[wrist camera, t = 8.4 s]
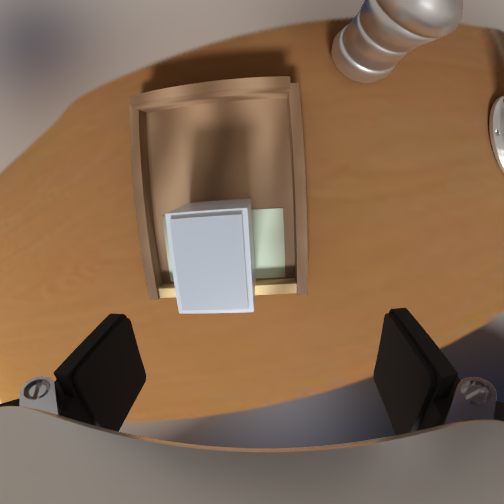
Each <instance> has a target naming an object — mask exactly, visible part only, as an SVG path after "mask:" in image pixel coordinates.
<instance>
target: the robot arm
mask: <svg viewBox="0 0 504 504" xmlns="http://www.w3.org/2000/svg"><path fill="white" fill-rule="evenodd" d="M489 131H490V139H491V144H492V148H493V152H494V155H495V157H496V160H497V162H498V164H499V167H500V168H501V170H502V172H503V173H504V96H501V97H499V98H497V99H496V100H495V102H494V103H493V105H492V108H491V111H490V117H489ZM54 375H55V377H56V379H57V380H56V381H55V382H54V381H53V380H52V379H51V378H49V377H44V376H40V377H35V378H33V379H31V380H29V381H27V382H26V383H25V384H24V385H23V386H22V388H21V390H20V399H17V400H13V401H9V402H6V403H2V404H0V504H504V403H502V402H499V401H496V390H495V388H494V387H493V386H492V385H491V383H489V382H488V381H486V380H484V379H482V378H478V377H468V378H466V379H463V380H462V381H460V379H459V378H458V376H457V375H458V373H457V372H456V370H455V369H454V367H453V366H452V365H451V363H450V362H449V361H448V359H447V358H446V357H445V356H444V354H443V353H442V352H441V350H440V349H439V348H438V346H437V345H436V344H435V343H434V341H433V340H432V339H431V338H430V336H429V335H428V334H427V333H426V331H425V330H424V329H423V328H422V327H421V325H420V324H419V323H418V322H417V320H416V319H415V318H414V317H413V316H412V314H411V313H410V312H409V311H408V310H407V309H406V308H398V309H391V310H390V311H389V313H387V314H385V317H384V323H383V329H382V334H381V340H380V345H379V350H378V355H377V360H376V365H375V370H374V380H375V383H376V386H377V388H378V391H379V393H380V396H381V398H382V401H383V403H384V406H385V408H386V411H387V413H388V416H389V419H390V421H391V424H392V427H393V429H394V432H395V435H396V436H391V437H385V438H380V439H373V440H368V441H361V442H354V443H347V444H338V445H328V446H318V447H302V448H278V449H277V448H273V449H259V448H253V449H252V448H229V447H214V446H213V447H212V446H202V445H193V444H185V443H177V442H170V441H164V440H157V439H152V438H146V437H141V436H136V435H131V434H126V433H122V432H119V430H120V428H121V426H122V424H123V422H124V420H125V418H126V416H127V415H128V413H129V411H130V409H131V407H132V405H133V403H134V402H135V400H136V398H137V396H138V394H139V392H140V391H141V389H142V387H143V385H144V383H145V381H146V373H145V370H144V366H143V363H142V360H141V357H140V353H139V350H138V346H137V343H136V339H135V335H134V332H133V328H132V324H131V321H130V319H129V318H127V317H126V315H124V314H110V315H108V316H107V317H106V318H105V319H104V320H103V321H102V322H101V323H100V324H99V325H98V326H97V327H96V329H95V330H94V331H93V332H92V333H91V334H90V335H89V336H88V337H87V338H86V339H85V340H84V341H83V342H82V343H81V344H80V345H79V346H78V347H77V348H76V349H75V350H74V351H73V352H72V353H71V354H70V356H69V357H68V358H67V359H66V360H65V361H64V362H63V363H62V364H61V365H60V366H59V367H58V368H57V370H56V371H55V372H54Z"/></svg>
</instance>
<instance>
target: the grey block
mask: <svg viewBox="0 0 504 504" xmlns="http://www.w3.org/2000/svg"><path fill="white" fill-rule="evenodd" d="M165 217H166V226H167V235H168V243H169V251H170V258H171V265H172V272H173V279H174V285H175V292H176V298H177V304H178V309H179V313H237V312H254V302H255V283H256V274H255V257H254V241H253V224H252V207H251V198H249V199H233V200H218V201H205V202H193V203H188V204H185V205H183V206H181V207H179V208H177V209H174V210H172V211H170V212H168V213H166V214H165Z"/></svg>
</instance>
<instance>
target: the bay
mask: <svg viewBox="0 0 504 504" xmlns="http://www.w3.org/2000/svg"><path fill="white" fill-rule="evenodd" d="M129 119H130V147H131V164H132V177H133V189H134V199H135V208H136V217H137V225H138V233H139V240H140V247H141V253H142V260H143V266H144V272H145V278H146V283H147V288H148V294H149V299H159V298H160V297H176V292H175V285H174V279H173V272H172V265H171V258H170V251H169V243H168V235H167V226H166V217H165V214H166V213H168V212H170V211H172V210H174V209H177V208H179V207H181V206H183V205H185V204H188V203H193V202H205V201H218V200H233V199H249V198H251V207H252V224H253V241H254V257H255V274H256V283H255V295H267V294H287V293H297V295H305V294H307V290H308V252H307V204H306V178H305V158H304V141H303V126H302V113H301V101H300V90H299V83H290V76H276V77H253V78H238V79H227V80H217V81H209V82H201V83H194V84H187V85H181V86H175V87H169V88H164V89H159V90H154V91H149V92H144V93H140V94H135V95H131V96H130V102H129Z"/></svg>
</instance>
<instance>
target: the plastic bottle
mask: <svg viewBox="0 0 504 504" xmlns="http://www.w3.org/2000/svg"><path fill="white" fill-rule="evenodd" d="M462 13H463V0H365V2H364V4H363V5H362V7H361V10H360V11H359V13H358V14H357V16H356V17H355V18H354V19H353V20H352V21H351V22H350V23H349V24H348V25H346V26H345V27H344V28H343V29H342V30H341V31H340V32H339V33H338V34H337V35H336V36H335V38H334V40H333V44H332V52H331V54H332V59H333V62H334V64H335V66H336V67H337V69H338V70H339V71H340V72H341V73H342V74H343V75H344V76H346V77H347V78H349V79H351V80H353V81H356V82H360V83H372V82H375V81H379V80H381V79H384V78H385V77H387V76H388V75H389V73H390V72H391V71H392V70H393V69H394V68H395V66H396V64H397V62H398V61H399V60H400V59H401V58H402V57H403V56H404V55H405V54H406V53H408V52H410V51H411V50H413V49H415V48H416V47H418V46H420V45H422V44H425V43H427V42H430V41H433V40H436V39H438V38H441V37H444V36H446V35H448V34H450V33H451V32H453V31H454V30H455V29H456V28H457V26H458V25H459V23H460V21H461V18H462Z"/></svg>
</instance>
